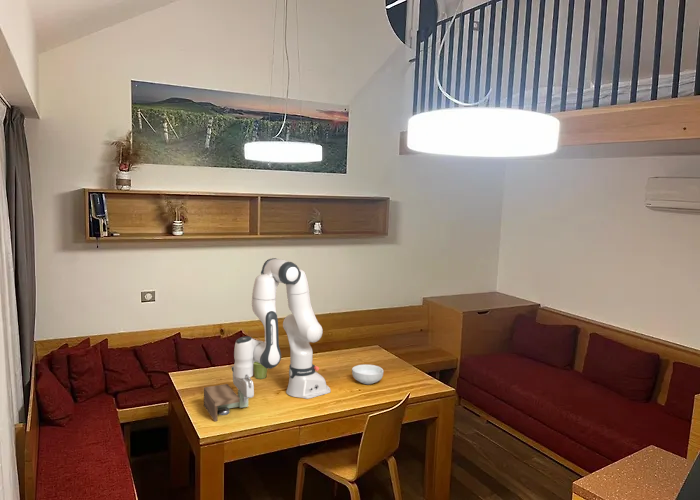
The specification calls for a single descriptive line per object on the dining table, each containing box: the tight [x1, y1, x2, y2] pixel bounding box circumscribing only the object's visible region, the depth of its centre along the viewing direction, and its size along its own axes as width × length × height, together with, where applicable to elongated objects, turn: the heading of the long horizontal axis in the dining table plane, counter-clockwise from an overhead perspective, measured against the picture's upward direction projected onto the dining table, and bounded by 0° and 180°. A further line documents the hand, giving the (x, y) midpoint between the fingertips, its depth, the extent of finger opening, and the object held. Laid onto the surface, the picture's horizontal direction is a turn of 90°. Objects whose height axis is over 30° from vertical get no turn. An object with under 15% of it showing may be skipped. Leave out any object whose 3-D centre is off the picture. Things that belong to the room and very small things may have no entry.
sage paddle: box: [217, 389, 249, 411], centre depth 256 cm, size 16×4×7 cm, turn 116°
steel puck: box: [217, 407, 230, 416], centre depth 252 cm, size 5×5×2 cm
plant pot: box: [253, 362, 268, 380], centre depth 298 cm, size 9×9×9 cm
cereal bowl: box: [351, 364, 384, 385], centre depth 298 cm, size 17×17×7 cm
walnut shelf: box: [203, 383, 240, 422], centre depth 253 cm, size 11×18×9 cm, turn 30°
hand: (243, 400), depth 259 cm, fingers closed on sage paddle, 4 cm apart
